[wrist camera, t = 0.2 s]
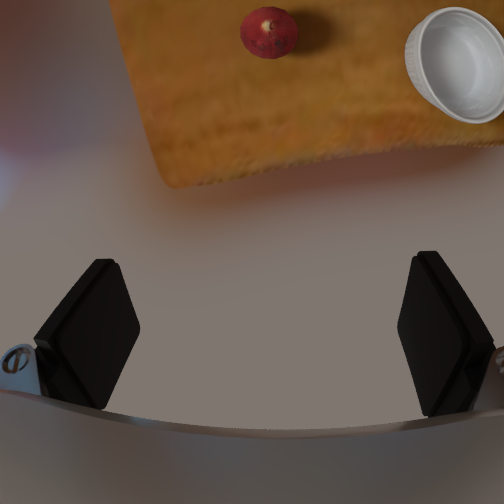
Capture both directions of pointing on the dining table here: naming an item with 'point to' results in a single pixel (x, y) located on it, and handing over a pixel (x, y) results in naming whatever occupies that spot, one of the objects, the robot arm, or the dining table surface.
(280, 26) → the onion
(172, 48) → the dining table surface
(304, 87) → the dining table surface
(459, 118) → the ramekin
